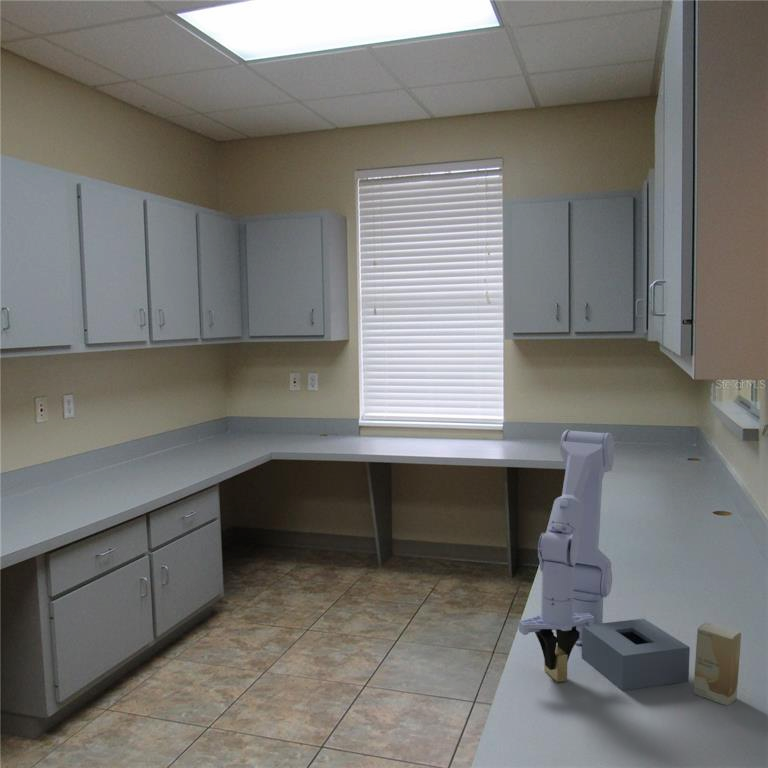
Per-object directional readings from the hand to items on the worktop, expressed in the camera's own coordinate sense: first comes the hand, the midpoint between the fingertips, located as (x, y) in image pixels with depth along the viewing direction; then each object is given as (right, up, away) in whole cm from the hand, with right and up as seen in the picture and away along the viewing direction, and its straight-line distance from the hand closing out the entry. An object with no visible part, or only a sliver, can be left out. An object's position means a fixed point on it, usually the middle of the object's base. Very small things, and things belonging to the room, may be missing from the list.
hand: (555, 666), depth 138 cm
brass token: (0, -2, 0) cm, 2 cm away
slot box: (+16, -2, +3) cm, 16 cm away
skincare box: (+27, -3, -7) cm, 28 cm away
